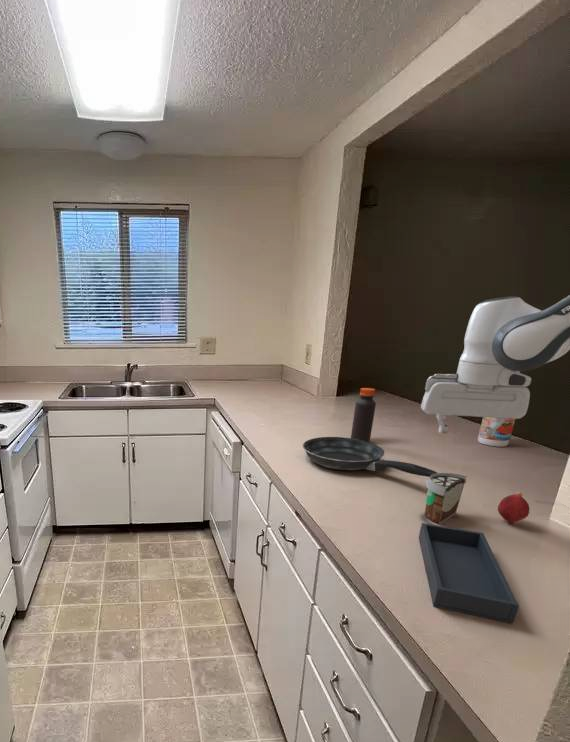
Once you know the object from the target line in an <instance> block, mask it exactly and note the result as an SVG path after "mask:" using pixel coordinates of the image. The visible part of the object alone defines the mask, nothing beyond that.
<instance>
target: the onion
mask: <svg viewBox="0 0 570 742" xmlns="http://www.w3.org/2000/svg"><path fill="white" fill-rule="evenodd" d="M522 496H523V493H522V492H520V491H518V492H515V493H514V494H510V495H507V496H505V497H503V498H502V499H501V500H500V502H499V503H498V505H497V511H498V514H499V515H500V516H501V518H503V519H504V520H505V521H506V522H508V523H509V524H513V523H516V522H519V521H523V520H524V519H526V518H527V517H528V516H529V514H530V504H529V502H528V501H527V500H526V499H525V498H524V497H522Z"/></svg>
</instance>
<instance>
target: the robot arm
mask: <svg viewBox="0 0 570 742" xmlns="http://www.w3.org/2000/svg"><path fill="white" fill-rule="evenodd" d="M463 344H464V348H463V351H462V354H461V355H460V358H459V361H458V365H457V370H456V373H435V374H433V375H430V376H429V377H428V378H427V379H426V381H425V385H424V390H425V392H424V395H423V397H422V399H421V405H420V409H421V410H422V411H423V413H425V414H426V415H435V419H436V421H437V423H438V433H439V434H448V433H449V431H448V430H449V428H450V426H449V425H447V424H445V422H444V420H446V418H447V416H457V417H460V416H461V417H476V418H477V417H478V418H483V417H493V420H494V422H493V424H492V425H491V426H490V427H485V431H484V435H485V436H494V434H495V431H496V429H497V428H498V427H500V426H501V425H502V424H503V423H504V420H505V418H515V420H517V419H518V420H520V419H522V418H524V417H525V416H526V414H527V413H528V409H529V404H530V400H531V399H530V398H531V392H530V389H529V388H528V387H529V386H530V385H531V383H532V377H531V376H529V375H527V374H524V373H521V372H528V371H532V370H535V369H538V368H540V367H542V366H543V365H546V364H549V363H550V362H553V361H555V360H557V359H560V358H561V357H563V356H565V355H566V354H567V353H568V352H569V351H570V294H568V295H567V296H565V297H564V298H562V299H561V300H559V301H558V302H555V303H554V304H553V305H551V306H549V307H547V308H545V309H543V310H541V309H539V308H537V307H534V306H532V305H530V304H529V303H527V302H525V301H524V299H522V298H521V297H519V296H504V297H503V296H502V297H495V298H490V299H486V300H483V301H481V302H479V303H478V304H476V305H475V307H474V309H473V310H472V313H471V315H470V318H469V320H468V324H467V326H466V331H465V334H464V339H463ZM516 371H520V372H519V373H518V372H516Z"/></svg>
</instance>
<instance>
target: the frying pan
mask: <svg viewBox="0 0 570 742" xmlns="http://www.w3.org/2000/svg"><path fill="white" fill-rule="evenodd" d="M302 449H303V450H304V451H305V453H306V456H307V457H308V458H309V459H310V460H311V461H313V463H315V464H317V465H319V466H322V467H325V468H327V469H328V468H329V469H331V470H339V471H360V470H367V471H374V472H375V473H382V472H385V471H386V470H387V469H388V468H389V469H395V470H397V471H400V472H404V473H406V474H411V475H416V476H422V477H428V478H429V477H430V476H431V475H432V474H436V473H438V471H436V470H433V469H430V468H427V467H426V466H421V465H419V464H415V463H412V462H411V463H410V462H406V461H405V462H404V461H399V460H384V459H381V458H382V457H384V456H385V450H384V449H383V448H382V447H380V446H379V445H377V444H374V443H372V442H371V441H370V442H366V441H363V440H358V439H352V438H351V437H342V436H321V437H315V438H310V439H307V440H305V441H304V442H303V443H302ZM380 459H381V460H380Z"/></svg>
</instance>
